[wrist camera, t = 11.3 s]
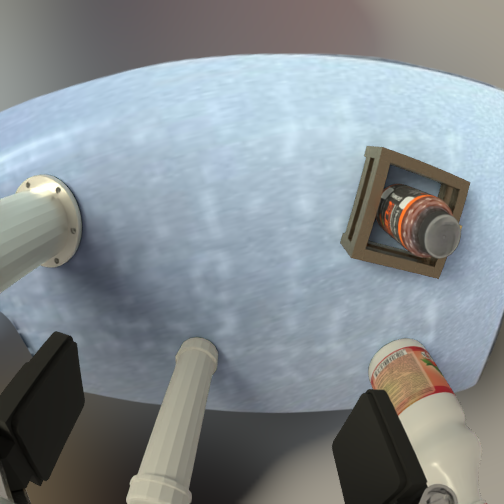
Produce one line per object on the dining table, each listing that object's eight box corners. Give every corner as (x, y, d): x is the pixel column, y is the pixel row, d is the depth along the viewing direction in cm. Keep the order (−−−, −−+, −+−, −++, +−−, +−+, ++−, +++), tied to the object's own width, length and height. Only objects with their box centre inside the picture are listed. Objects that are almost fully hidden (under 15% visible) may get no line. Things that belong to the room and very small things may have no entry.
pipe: (216, 334, 41) (165, 564, 12) (222, 371, 43) (188, 579, 14) (175, 335, 41) (94, 546, 13) (184, 371, 43) (127, 566, 15)
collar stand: (340, 242, 36) (350, 257, 31) (366, 145, 32) (382, 147, 27) (425, 264, 36) (443, 280, 32) (452, 178, 33) (475, 184, 28)
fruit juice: (372, 339, 40) (448, 522, 14) (430, 332, 40) (526, 484, 13) (361, 389, 43) (409, 553, 17) (416, 381, 43) (482, 525, 16)
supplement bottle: (366, 191, 34) (408, 214, 23) (411, 176, 33) (464, 192, 22) (379, 240, 36) (420, 278, 25) (422, 223, 35) (472, 255, 24)
